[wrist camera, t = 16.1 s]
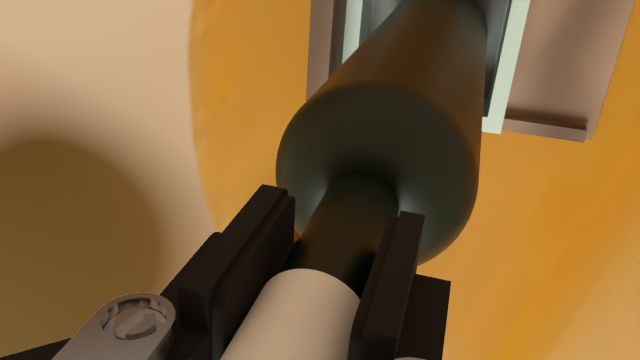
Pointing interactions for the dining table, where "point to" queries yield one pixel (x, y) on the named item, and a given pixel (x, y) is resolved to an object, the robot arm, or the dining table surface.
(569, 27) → the rail board
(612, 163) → the dining table surface
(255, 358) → the wine bottle
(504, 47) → the socket block
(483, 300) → the dining table surface
